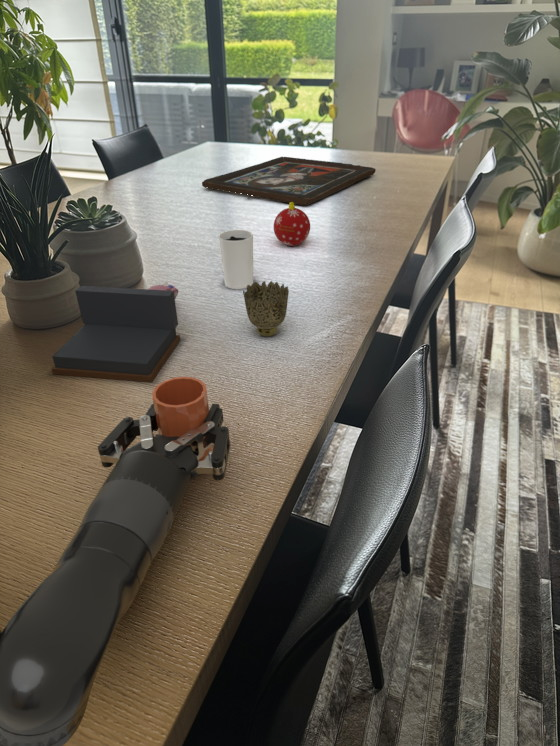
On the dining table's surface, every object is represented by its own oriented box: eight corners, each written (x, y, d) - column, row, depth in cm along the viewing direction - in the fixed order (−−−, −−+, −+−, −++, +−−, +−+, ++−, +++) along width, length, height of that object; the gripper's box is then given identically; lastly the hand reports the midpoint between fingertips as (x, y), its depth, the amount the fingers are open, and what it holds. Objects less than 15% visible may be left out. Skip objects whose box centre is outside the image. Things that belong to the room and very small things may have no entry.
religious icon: (198, 191, 175) (197, 181, 173) (279, 164, 205) (279, 155, 204) (305, 209, 155) (305, 198, 153) (377, 176, 186) (377, 166, 184)
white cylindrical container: (217, 287, 110) (212, 239, 105) (231, 275, 115) (227, 228, 110) (247, 291, 108) (244, 242, 103) (260, 279, 113) (258, 231, 108)
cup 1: (156, 473, 65) (143, 404, 59) (174, 440, 70) (163, 374, 64) (205, 478, 64) (196, 409, 58) (219, 445, 69) (212, 378, 63)
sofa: (52, 374, 84) (37, 321, 79) (92, 333, 95) (80, 285, 90) (151, 382, 81) (141, 328, 77) (180, 340, 92) (173, 290, 87)
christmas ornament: (266, 246, 130) (265, 203, 124) (288, 236, 136) (287, 195, 130) (296, 253, 125) (295, 209, 120) (317, 242, 131) (317, 200, 126)
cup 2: (281, 346, 90) (279, 301, 85) (239, 340, 92) (236, 296, 87) (294, 325, 95) (294, 283, 91) (255, 320, 98) (252, 278, 93)
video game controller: (139, 334, 98) (146, 306, 93) (120, 318, 98) (127, 289, 93) (176, 312, 104) (185, 285, 100) (159, 298, 105) (167, 270, 100)
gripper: (203, 490, 49) (247, 385, 62) (54, 472, 51) (128, 375, 65) (211, 547, 53) (250, 437, 66) (72, 528, 55) (138, 426, 69)
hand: (190, 407), depth 66 cm, fingers closed on cup 1, 6 cm apart
